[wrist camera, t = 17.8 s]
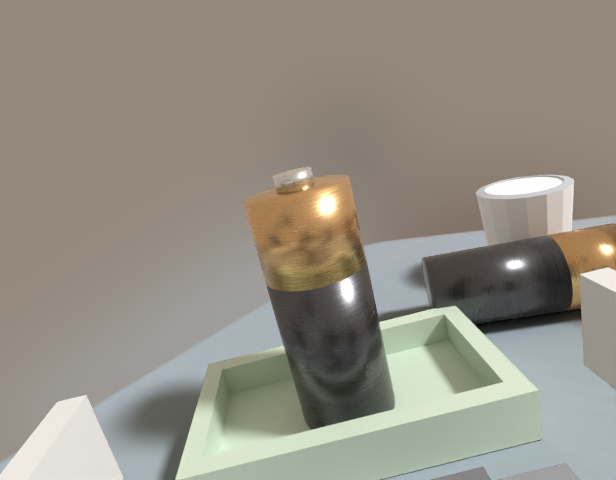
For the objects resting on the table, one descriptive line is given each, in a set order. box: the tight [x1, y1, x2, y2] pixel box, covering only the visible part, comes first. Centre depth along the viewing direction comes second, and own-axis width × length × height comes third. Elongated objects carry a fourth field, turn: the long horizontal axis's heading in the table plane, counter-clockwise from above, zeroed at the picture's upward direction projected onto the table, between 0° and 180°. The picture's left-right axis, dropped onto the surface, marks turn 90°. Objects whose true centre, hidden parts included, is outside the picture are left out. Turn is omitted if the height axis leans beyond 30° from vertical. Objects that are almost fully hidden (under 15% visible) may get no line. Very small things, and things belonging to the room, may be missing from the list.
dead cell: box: [422, 224, 616, 325], centre depth 28 cm, size 13×5×5 cm, turn 84°
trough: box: [175, 306, 543, 480], centre depth 23 cm, size 16×9×3 cm, turn 94°
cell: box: [243, 167, 395, 430], centre depth 21 cm, size 5×5×13 cm
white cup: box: [476, 175, 574, 246], centre depth 34 cm, size 7×7×7 cm
